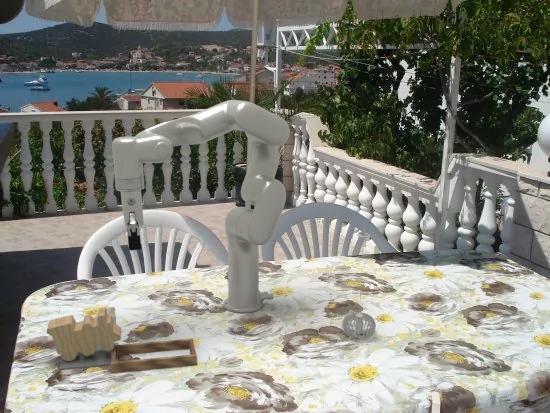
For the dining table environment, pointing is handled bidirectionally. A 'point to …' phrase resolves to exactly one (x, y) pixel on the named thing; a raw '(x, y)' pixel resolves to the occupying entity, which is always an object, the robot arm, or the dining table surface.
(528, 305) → the dining table surface
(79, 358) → the slate mat
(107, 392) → the dining table surface
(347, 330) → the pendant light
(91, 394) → the dining table surface
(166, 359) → the pocket frame
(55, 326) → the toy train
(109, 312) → the stone
